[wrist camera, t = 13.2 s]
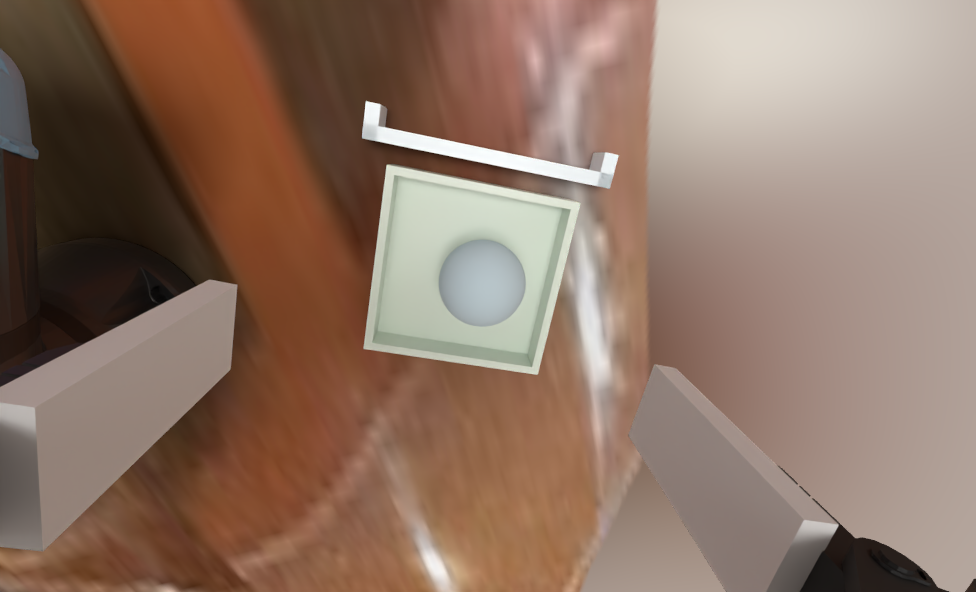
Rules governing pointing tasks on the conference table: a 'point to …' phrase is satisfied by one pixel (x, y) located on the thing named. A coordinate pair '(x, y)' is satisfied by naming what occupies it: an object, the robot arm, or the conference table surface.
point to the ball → (482, 283)
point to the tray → (427, 243)
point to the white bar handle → (487, 152)
